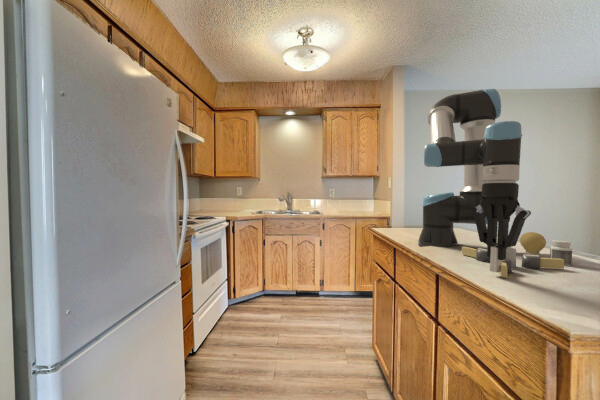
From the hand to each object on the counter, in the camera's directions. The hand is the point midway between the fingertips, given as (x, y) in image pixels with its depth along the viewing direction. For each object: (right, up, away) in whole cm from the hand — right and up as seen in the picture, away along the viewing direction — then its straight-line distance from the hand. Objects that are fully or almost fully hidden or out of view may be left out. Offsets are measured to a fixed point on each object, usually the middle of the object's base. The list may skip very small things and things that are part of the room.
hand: (495, 270), depth 66 cm
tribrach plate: (+10, -2, +9) cm, 13 cm away
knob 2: (+3, -1, +2) cm, 4 cm away
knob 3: (+19, -1, +6) cm, 20 cm away
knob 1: (+7, -1, +17) cm, 19 cm away
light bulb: (+26, -2, +18) cm, 32 cm away
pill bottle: (+29, -2, +11) cm, 31 cm away
